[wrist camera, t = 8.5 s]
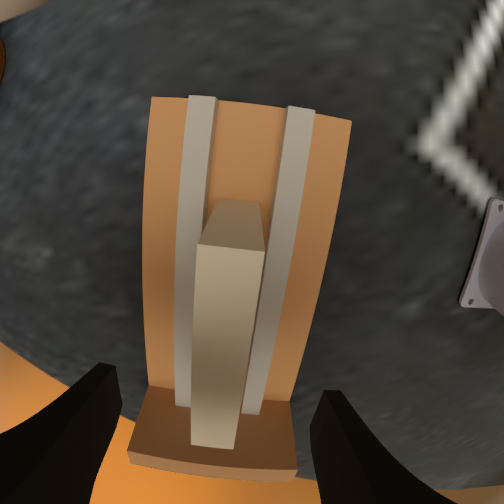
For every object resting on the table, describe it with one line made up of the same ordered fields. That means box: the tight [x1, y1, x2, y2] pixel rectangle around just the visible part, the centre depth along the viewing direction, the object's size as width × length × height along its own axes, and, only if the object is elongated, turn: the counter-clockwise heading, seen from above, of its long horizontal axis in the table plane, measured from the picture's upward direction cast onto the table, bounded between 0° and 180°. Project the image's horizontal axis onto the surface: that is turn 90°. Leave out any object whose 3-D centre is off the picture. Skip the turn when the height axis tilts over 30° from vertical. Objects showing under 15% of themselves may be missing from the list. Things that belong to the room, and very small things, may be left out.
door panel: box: [191, 197, 265, 449], centre depth 14 cm, size 2×10×7 cm, turn 173°
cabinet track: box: [127, 95, 352, 481], centre depth 15 cm, size 10×20×7 cm, turn 173°
